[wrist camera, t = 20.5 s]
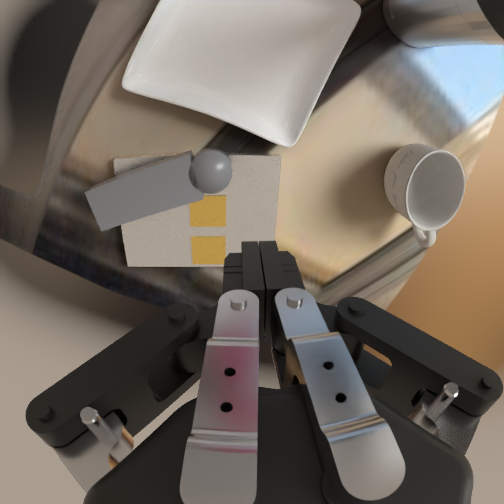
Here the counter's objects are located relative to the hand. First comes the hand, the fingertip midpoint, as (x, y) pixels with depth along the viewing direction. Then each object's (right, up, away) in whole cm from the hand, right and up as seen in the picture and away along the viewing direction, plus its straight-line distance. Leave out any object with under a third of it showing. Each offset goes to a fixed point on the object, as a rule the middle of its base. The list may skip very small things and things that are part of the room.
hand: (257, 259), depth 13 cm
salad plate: (-1, +25, +14) cm, 29 cm away
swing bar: (-10, +8, +18) cm, 22 cm away
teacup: (+22, +10, +25) cm, 34 cm away
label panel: (-7, +6, +24) cm, 26 cm away
